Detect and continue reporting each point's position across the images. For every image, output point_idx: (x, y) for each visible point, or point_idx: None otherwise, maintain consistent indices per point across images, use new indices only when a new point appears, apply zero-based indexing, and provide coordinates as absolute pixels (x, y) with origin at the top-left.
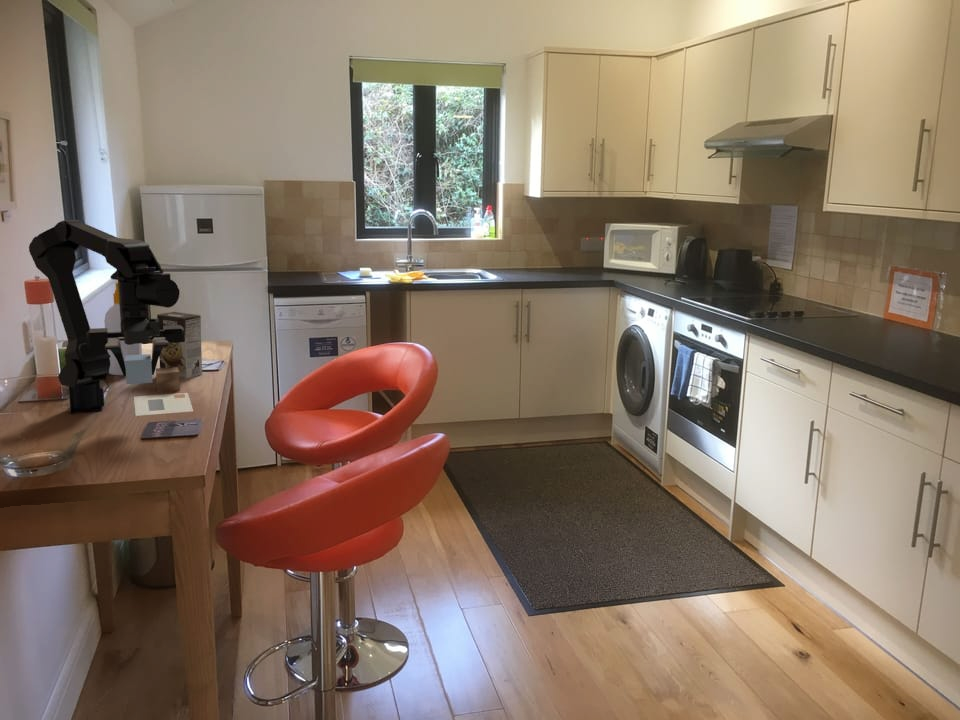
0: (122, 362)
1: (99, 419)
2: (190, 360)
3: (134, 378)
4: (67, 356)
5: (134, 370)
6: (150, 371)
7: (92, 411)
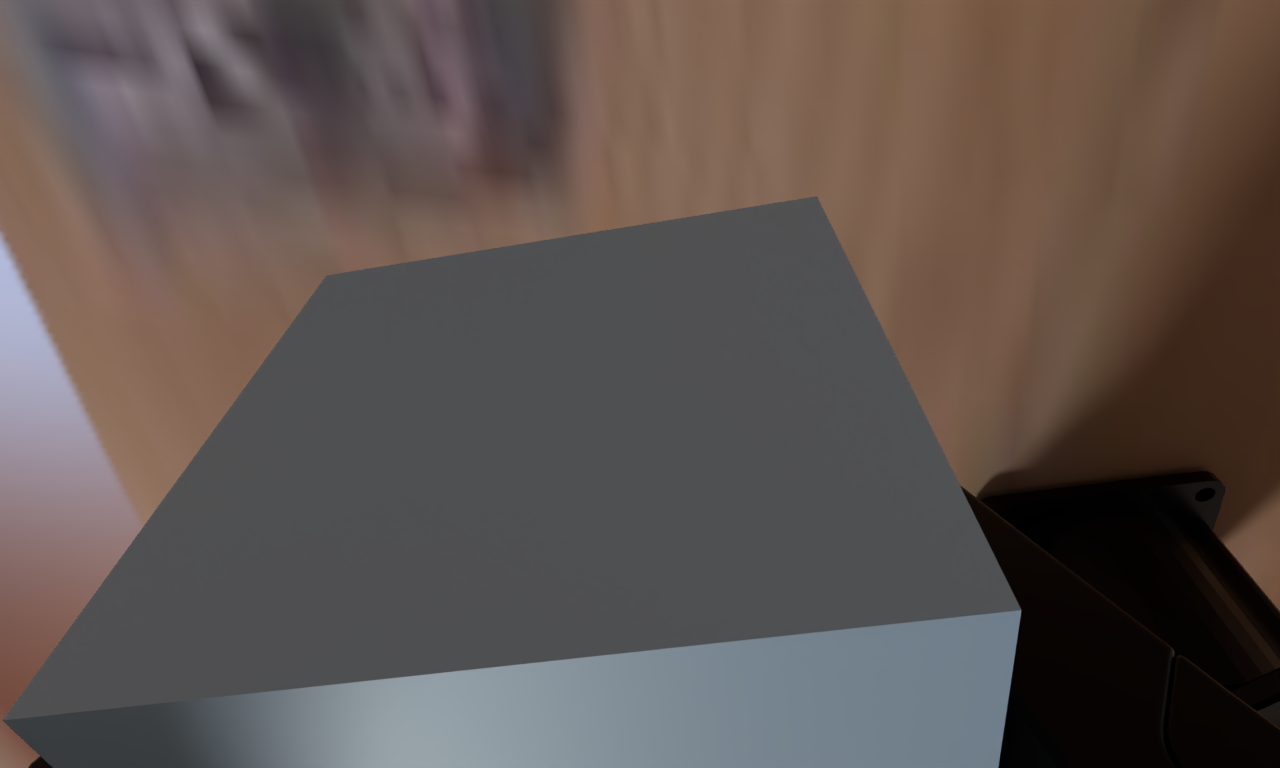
0: (1045, 668)
1: (1004, 319)
2: None
3: (659, 272)
4: None
5: (650, 390)
6: (259, 412)
7: (1046, 490)
